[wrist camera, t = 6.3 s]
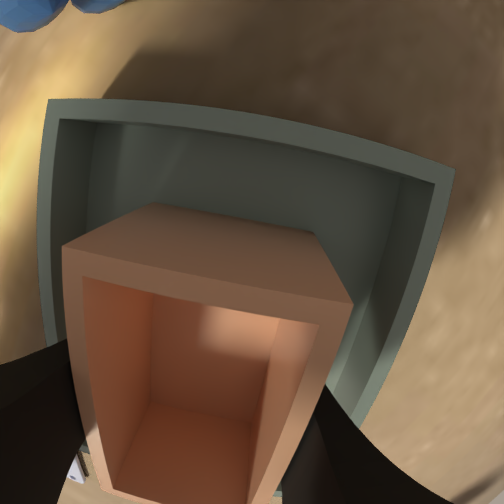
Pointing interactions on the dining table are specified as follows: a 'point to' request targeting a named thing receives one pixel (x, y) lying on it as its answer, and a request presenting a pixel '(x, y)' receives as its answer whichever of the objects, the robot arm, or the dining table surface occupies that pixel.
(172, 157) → the base crate
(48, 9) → the grapes
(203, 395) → the small crate
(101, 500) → the dining table surface
